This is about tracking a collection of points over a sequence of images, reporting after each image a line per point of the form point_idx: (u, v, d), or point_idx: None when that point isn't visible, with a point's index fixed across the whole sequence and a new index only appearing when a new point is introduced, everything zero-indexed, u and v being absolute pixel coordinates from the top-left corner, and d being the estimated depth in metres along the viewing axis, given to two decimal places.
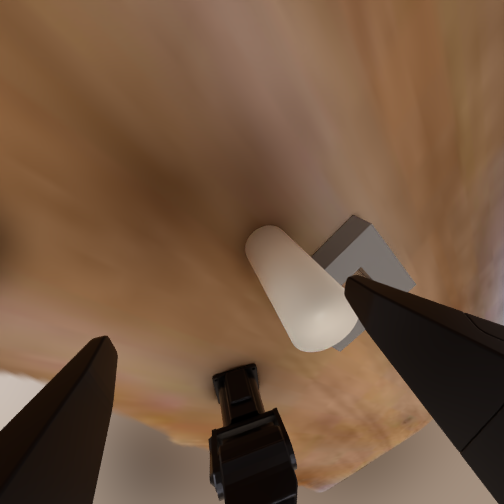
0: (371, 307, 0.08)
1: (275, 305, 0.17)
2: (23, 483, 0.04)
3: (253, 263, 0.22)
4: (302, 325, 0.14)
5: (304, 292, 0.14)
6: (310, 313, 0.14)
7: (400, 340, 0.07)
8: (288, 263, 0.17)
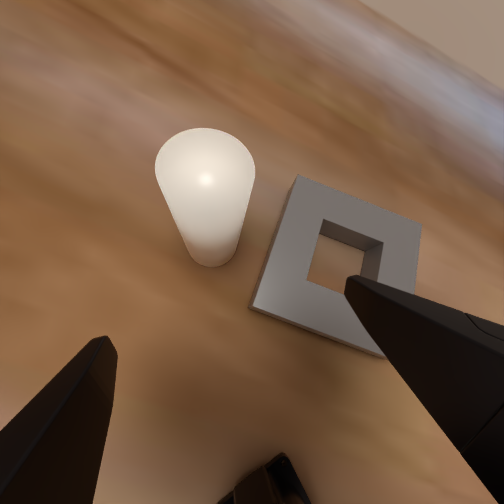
0: (371, 307, 0.08)
1: (169, 208, 0.13)
2: (22, 483, 0.04)
3: None
4: (170, 170, 0.11)
5: None
6: (173, 154, 0.11)
7: (400, 340, 0.07)
8: None
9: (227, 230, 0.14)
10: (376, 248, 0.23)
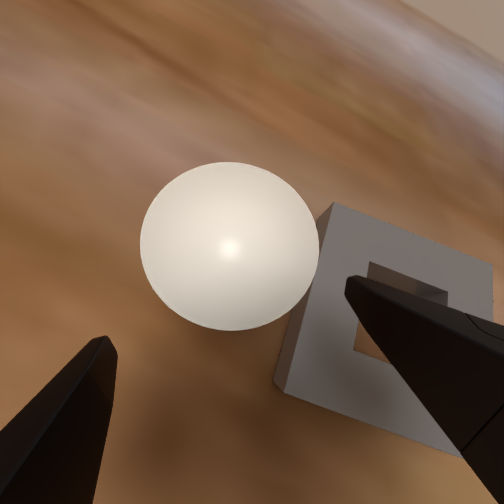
0: (371, 307, 0.08)
1: None
2: (23, 483, 0.04)
3: None
4: (168, 246, 0.06)
5: None
6: (174, 213, 0.06)
7: (400, 340, 0.07)
8: None
9: None
10: (435, 297, 0.18)
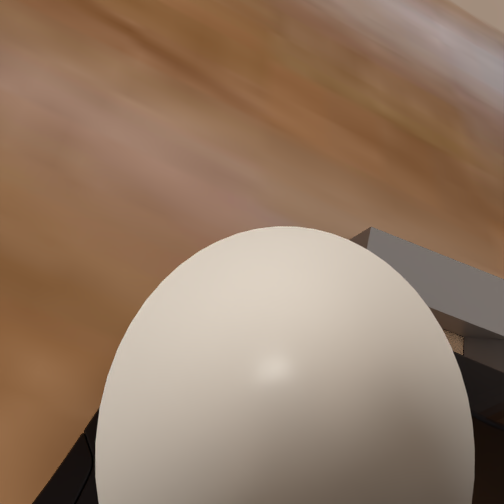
0: None
1: None
2: None
3: None
4: (163, 444, 0.03)
5: None
6: (175, 353, 0.03)
7: None
8: None
9: None
10: (495, 344, 0.15)
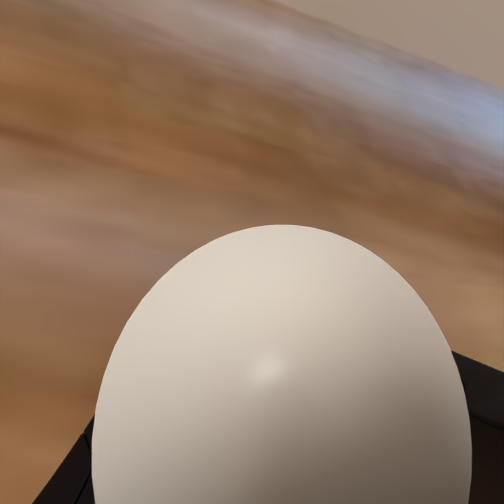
0: None
1: None
2: None
3: None
4: (159, 442, 0.03)
5: None
6: (171, 351, 0.03)
7: None
8: None
9: None
10: None
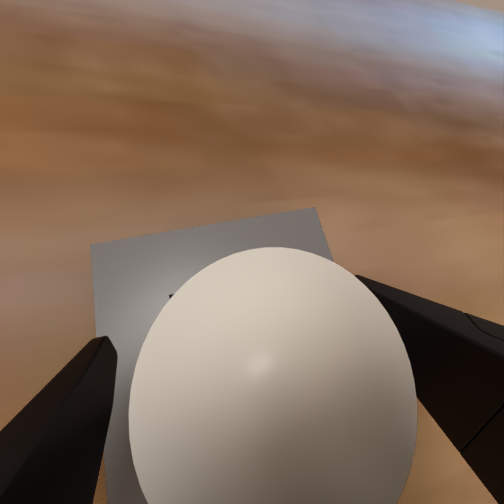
0: None
1: None
2: (23, 483, 0.04)
3: None
4: (177, 415, 0.04)
5: None
6: (186, 347, 0.04)
7: None
8: None
9: None
10: None
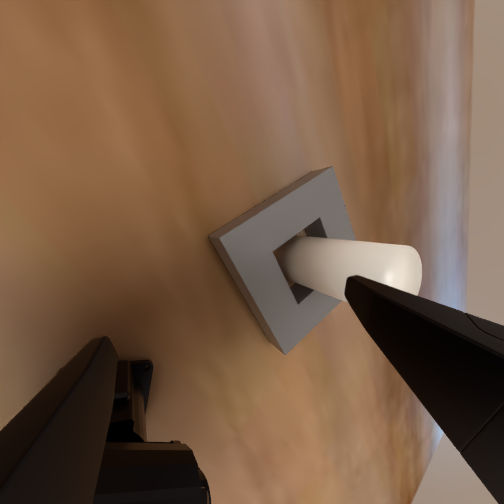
0: (371, 307, 0.08)
1: (351, 251, 0.16)
2: (22, 483, 0.04)
3: (299, 242, 0.22)
4: (396, 260, 0.14)
5: None
6: (405, 256, 0.15)
7: (400, 340, 0.07)
8: None
9: (344, 298, 0.17)
10: None
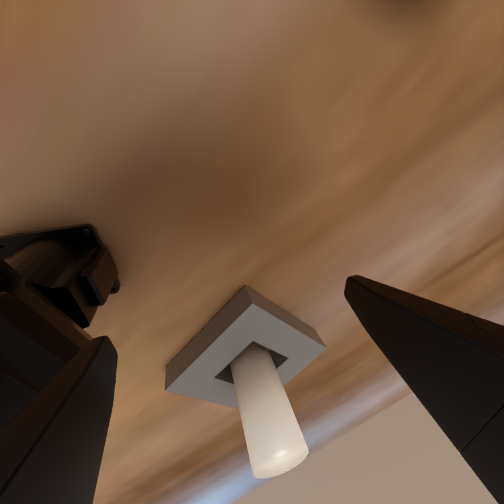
0: (371, 307, 0.08)
1: (285, 410, 0.21)
2: (23, 483, 0.04)
3: (266, 355, 0.26)
4: (296, 450, 0.19)
5: None
6: (300, 453, 0.19)
7: (400, 340, 0.07)
8: None
9: (247, 423, 0.21)
10: None
